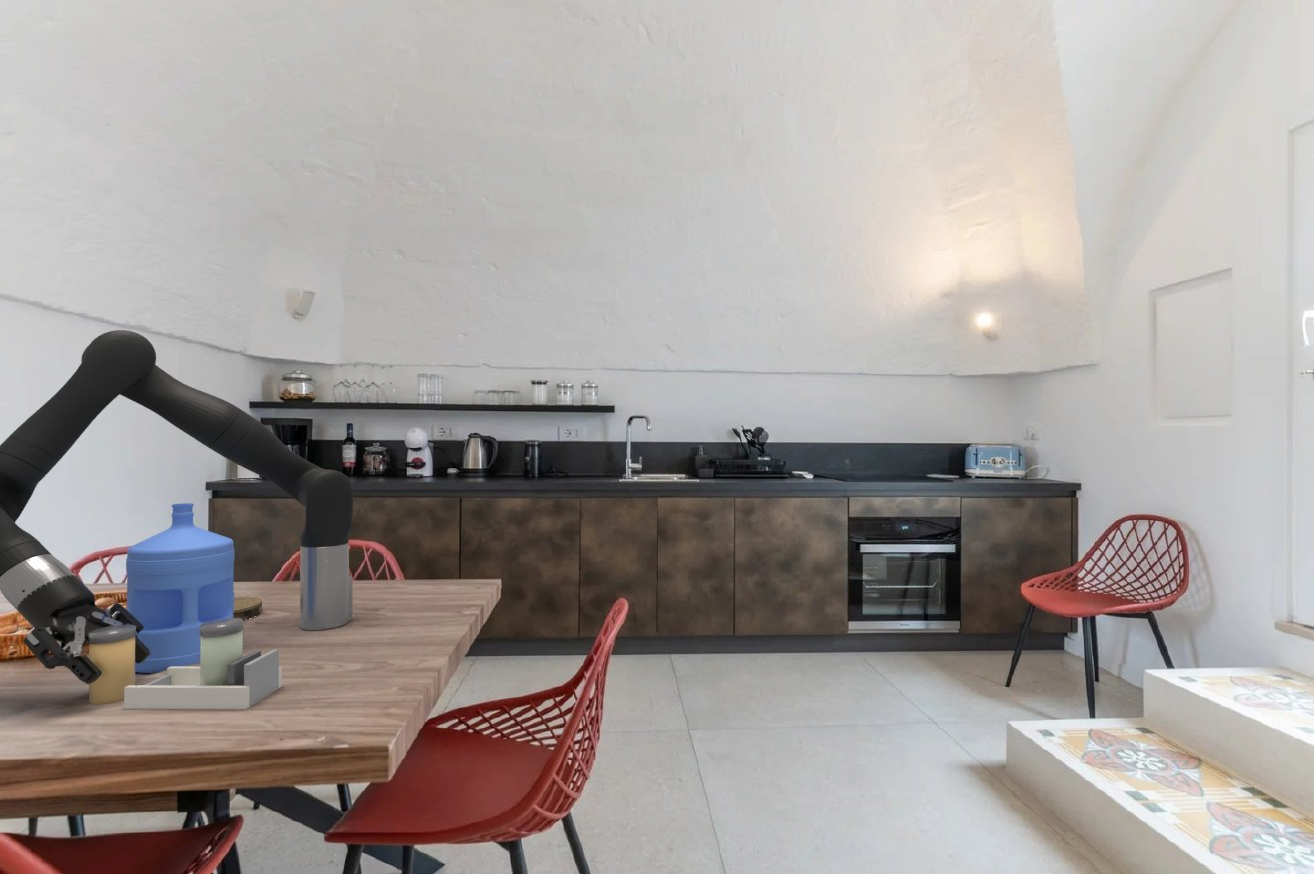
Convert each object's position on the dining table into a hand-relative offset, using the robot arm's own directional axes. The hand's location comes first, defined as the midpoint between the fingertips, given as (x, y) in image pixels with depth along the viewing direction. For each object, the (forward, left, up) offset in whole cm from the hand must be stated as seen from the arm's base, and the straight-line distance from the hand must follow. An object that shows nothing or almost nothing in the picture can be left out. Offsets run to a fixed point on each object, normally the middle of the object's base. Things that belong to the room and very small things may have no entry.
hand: (121, 668), depth 94 cm
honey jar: (0, -1, -5) cm, 5 cm away
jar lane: (-4, +12, -5) cm, 14 cm away
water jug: (-16, -12, -5) cm, 21 cm away
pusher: (-7, +18, -4) cm, 20 cm away
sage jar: (-5, +14, -4) cm, 16 cm away
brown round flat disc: (-37, -33, -6) cm, 50 cm away
